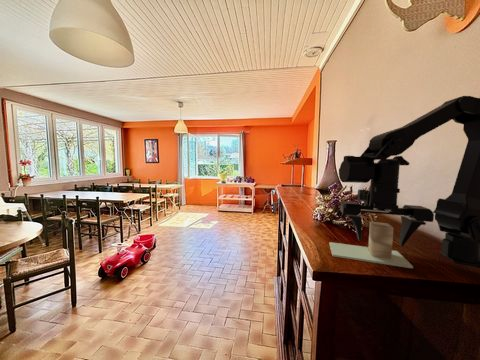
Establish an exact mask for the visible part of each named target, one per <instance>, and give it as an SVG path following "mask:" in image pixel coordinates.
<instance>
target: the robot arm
mask: <svg viewBox="0 0 480 360" xmlns="http://www.w3.org/2000/svg"><path fill="white" fill-rule="evenodd" d="M451 120H452V121H454V122H455V123H456V124H462V125H463V130H462V131H463V133H464V134H465V136H466V138H467V143H466V146H465V149H464V153H463V157H462V159H461V163H460V166H459V169H458V173H457V176H456V180H455V182H454V185H453V188H452V192H451V193H450V195H448V196H447V197H446V198H438V200H437V201H436V207H435V209H434V210H433V211H432V210H431V209H430V208H427V207H426V206H425V207H424V206H422V205H413V204H412V205H411V204H404V205H403V206H402V207H399V205H398V194H399V193H400V192H401V191H400V190H401V189H400V188H399V179H400V177H399V176H400V166H409V165H410V162H409V161H408V160H406V159H405V158H404V157H403V155H402V154H403V153H404V152H405V151H407V150H408V149H409V148H411V147H412V146H413V144H414V143H415V142H416V141H417V139H419V138H420V137H422V136H424V135H427V134H428V133H430V132H432V131H434V130H436V129H437V128H438V127H441V126H443V125H445V124H446V123H448V122H450V121H451ZM390 157H393V158H390ZM375 161H377V162H375ZM338 177H339V179H340V181H341V183H353V184H354V183H355V184H356V183H358V184H359V183H361V184H362V183H369V182H370V185H369V187H368V191H367V190H366V189H358V190H357V201H358V202H357V201H354V200H353V201H352V200H351V201H350V200H343V201H341V202H340V206H339V209H340V212H341V213H342V214H343V215H345V216H346V217H347V218H349V219H351V221H352V223H353V226H354V229H355V233H356V237H357V239H358V241H359V242H362V238H363V233H362V232H363V231H362V229H363V227H362V226H363V224H362V216H361V215H360V214H361V213H366V214H368V213H369V214H380V215H392V216H400V220H401V226H400V233H399V246H400V247H404V245H406V243H407V242H408V240H409V239H410V238H411V237H412V235H413V234H414V233H415V232H416V231H417V230H418V229H419V228H420V227H421V226H425V225H427V222H428V223H429V222H430V223H433V222H434V220H435V221H436V222H437V225H438V229H439V231H440V232H444V233H445V235H444V236H445V238H442V244H441V251H439V254H441V256H444V257H445V258H447V259H448V260H450V261H451V262H453V263H456V264H459V265H465V266H466V265H467V266H475V267H480V97H476V96H472V95H462V96H459V97H456V98H453V99H450V100H447V101H444V103H442V104H440V105H439V106H438V107H435V108H434V109H432V110H430V111H428V112H427V113H425V114H422V115H421V116H419V117H417V118H416V119H414V120H412V121H411V122H408V123H406V124H404V125H403V126H401V127H398V128H396V129H395V128H394V129H392V130H389V131H386V132H382V133H380V134H377V135H375V136H373V137H371V139H370V140H369V143H368V146H367V147H366V148H365V150H364V151H363V153H362V154H361V155H360V156H355V155H344V156H343V161H342V162H341V163H340V167H339V169H338ZM359 202H364V204H360V203H359Z"/></svg>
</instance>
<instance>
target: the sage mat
mask: <svg viewBox="0 0 480 360" xmlns="http://www.w3.org/2000/svg"><path fill="white" fill-rule="evenodd" d="M328 244H329V248H330V252H331V255H332V257H335V258H342V259H347V260H355V261H359V262H360V261H361V262H367V263H374V264H379V265H380V264H381V265H387V266H393V267H401V268H406V269H414V266H413V265H412V264H411V263H410V262H409V261H408V260H407V259H406V258H405V256H403V255H402V254H401V253H400V252H399V251H398V250H393V249H392V255H391V259H387V258H380V257H373V256H372V255H371V254H370V252H369V251H368V246H362V245H355V244H354V245H353V244H345V243H339V242H331V241H329V242H328Z"/></svg>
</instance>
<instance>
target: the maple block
mask: <svg viewBox="0 0 480 360" xmlns="http://www.w3.org/2000/svg"><path fill="white" fill-rule="evenodd" d="M368 232H369V233H368V246H367V247H368V251H369V252H370V254H371V255H372V256H373V257H380V258H387V259H391V255H392V250H393V240H394V227H393V226H392V225H391V224H389V223H387V222H377V221H376V222H375V221H369V231H368Z"/></svg>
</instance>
